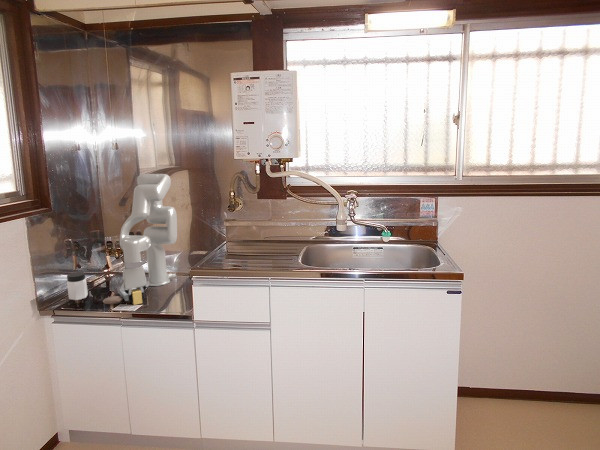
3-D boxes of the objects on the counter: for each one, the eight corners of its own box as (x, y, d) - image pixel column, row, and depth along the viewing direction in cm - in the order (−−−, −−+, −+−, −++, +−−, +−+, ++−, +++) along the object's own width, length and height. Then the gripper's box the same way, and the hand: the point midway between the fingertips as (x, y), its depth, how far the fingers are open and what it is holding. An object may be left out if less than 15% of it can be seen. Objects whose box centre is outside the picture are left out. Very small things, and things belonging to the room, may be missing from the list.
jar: (91, 295, 228) (89, 272, 226) (79, 300, 220) (76, 277, 218) (77, 293, 231) (75, 271, 228) (65, 299, 223) (62, 276, 221)
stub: (139, 300, 220) (138, 288, 219) (142, 303, 216) (141, 291, 215) (131, 301, 218) (130, 289, 216) (133, 304, 214) (132, 292, 212)
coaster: (120, 296, 226) (119, 294, 226) (124, 301, 219) (124, 300, 218) (101, 300, 221) (101, 298, 221) (105, 305, 214) (104, 304, 213)
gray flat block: (135, 290, 233) (135, 286, 233) (141, 297, 224) (141, 292, 223) (119, 294, 229) (119, 289, 228) (125, 301, 219) (124, 296, 219)
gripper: (148, 260, 221) (151, 295, 225) (112, 265, 212) (116, 302, 215) (153, 263, 215) (155, 299, 219) (116, 269, 206) (120, 307, 209)
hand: (136, 300), depth 217 cm, fingers closed on stub, 4 cm apart
